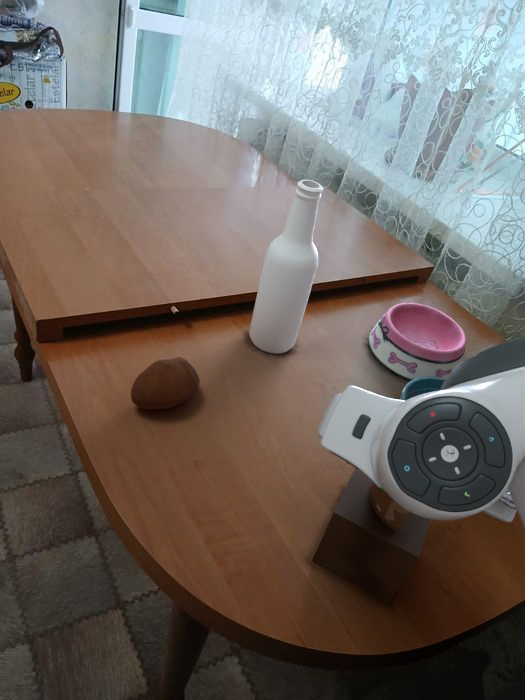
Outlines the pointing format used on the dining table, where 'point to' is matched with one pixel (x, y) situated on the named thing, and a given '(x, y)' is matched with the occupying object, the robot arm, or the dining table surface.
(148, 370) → the potato
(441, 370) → the dog bowl
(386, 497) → the food container
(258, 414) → the dining table surface
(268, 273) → the alcohol
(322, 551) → the stand
